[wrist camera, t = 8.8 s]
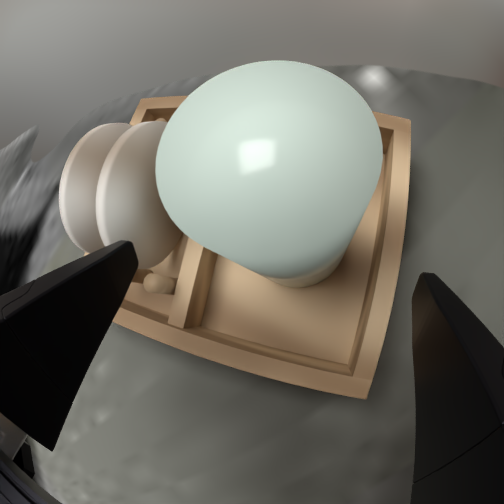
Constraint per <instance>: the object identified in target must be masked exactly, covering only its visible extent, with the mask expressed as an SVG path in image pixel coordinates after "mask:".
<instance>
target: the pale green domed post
mask: <svg viewBox="0 0 504 504" xmlns="http://www.w3.org/2000/svg"><path fill="white" fill-rule="evenodd" d="M382 160H383V145H382V139H381V134H380V130H379V127H378V124H377V121H376V119H375V117H374V115H373V113H372V111H371V109H370V107H369V106H368V105H367V103H366V102H365V100H364V99H363V98H362V97H361V96H360V95H359V94H358V92H357V91H356V90H355V89H354V88H352V87H351V86H350V85H349V84H347V83H346V82H345V81H344V80H342V79H340V78H339V77H337V76H336V75H334V74H332V73H330V72H328V71H326V70H323V69H321V68H318V67H315V66H312V65H309V64H304V63H299V62H293V61H262V62H255V63H251V64H246V65H243V66H239V67H236V68H233V69H230V70H228V71H226V72H223V73H221V74H219V75H217V76H215V77H214V78H212V79H210V80H208V81H207V82H206V83H204V84H203V85H201V86H200V87H198V88H197V89H196V90H195V91H194V92H192V93H191V94H190V95H189V96H188V97H187V98H186V99H185V100H184V101H183V102H182V103H181V105H180V106H179V107H178V108H177V110H176V111H175V112H174V114H173V115H172V117H171V118H170V120H169V122H168V123H167V125H166V127H165V130H164V132H163V134H162V137H161V140H160V143H159V146H158V150H157V156H156V168H155V173H156V183H157V188H158V192H159V196H160V198H161V201H162V203H163V206H164V208H165V210H166V211H167V213H168V214H169V216H170V218H171V219H172V220H173V222H174V223H175V224H176V225H177V226H178V228H179V229H180V230H181V231H183V232H184V233H185V234H186V235H187V236H188V237H189V238H191V239H192V240H194V241H195V242H197V243H198V244H200V245H202V246H203V247H205V248H207V249H209V250H211V251H213V252H215V253H217V254H219V255H221V256H223V257H225V258H227V259H229V260H231V261H233V262H235V263H237V264H239V265H241V266H243V267H245V268H247V269H249V270H251V271H253V272H255V273H257V274H259V275H261V276H263V277H265V278H267V279H269V280H271V281H273V282H275V283H278V284H280V285H283V286H286V287H292V288H303V287H309V286H313V285H315V284H318V283H320V282H322V281H323V280H325V279H326V278H328V277H329V276H330V275H331V274H332V273H333V272H334V271H335V270H336V268H337V267H338V265H339V264H340V262H341V260H342V258H343V256H344V254H345V252H346V250H347V248H348V246H349V244H350V242H351V240H352V238H353V236H354V234H355V232H356V230H357V228H358V226H359V223H360V221H361V219H362V217H363V215H364V213H365V211H366V209H367V206H368V204H369V202H370V200H371V198H372V195H373V193H374V191H375V189H376V186H377V183H378V180H379V177H380V173H381V167H382Z"/></svg>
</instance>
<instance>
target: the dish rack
mask: <svg viewBox="0 0 504 504" xmlns="http://www.w3.org/2000/svg"><path fill="white" fill-rule="evenodd" d="M187 97H188V96H173V97H157V98H145V99H141V101H140V103H139V105H138V107H137V109H136V111H135V113H134V115H133V117H132V120H131V122H130V124H126V123H111V124H104V125H101V126H98V127H96V128H94V129H92V130H91V131H89V132H88V133H87V134H85V135H84V136H83V137H82V138H81V139H80V140H79V142H78V143H77V144H76V145H75V147H74V148H73V150H72V152H71V153H70V155H69V157H68V159H67V161H66V164H65V166H64V169H63V172H62V176H61V181H60V188H59V207H60V214H61V218H62V222H63V225H64V227H65V230H66V232H67V234H68V236H69V237H70V239H71V240H72V241H73V242H74V244H75V245H76V246H78V247H79V248H80V249H81V250H83V251H85V254H84V256H86V255H88V254H90V253H92V252H94V251H97V250H99V249H101V248H103V247H106V246H108V245H110V244H113V243H115V242H117V241H120V240H127V241H131V242H132V243H133V245H134V248H135V251H136V254H137V258H138V261H139V265H138V269H137V271H136V273H135V275H134V278H133V280H132V282H131V284H130V286H129V289H128V291H127V293H126V295H125V298H124V300H123V302H122V304H121V306H120V308H119V310H118V312H117V314H116V315H115V317H114V319H113V321H112V322H115V323H117V324H119V325H121V326H124V327H126V328H128V329H130V330H133V331H135V332H137V333H140V334H142V335H145V336H147V337H149V338H152V339H154V340H157V341H159V342H162V343H165V344H167V345H170V346H172V347H175V348H178V349H180V350H183V351H186V352H189V353H191V354H194V355H197V356H200V357H203V358H206V359H209V360H211V361H214V362H218V363H221V364H224V365H227V366H230V367H233V368H236V369H240V370H243V371H246V372H250V373H253V374H257V375H260V376H264V377H267V378H271V379H275V380H278V381H282V382H286V383H290V384H294V385H298V386H302V387H307V388H311V389H315V390H320V391H325V392H329V393H334V394H339V395H344V396H350V397H355V398H361V399H366V398H367V395H368V392H369V389H370V386H371V383H372V380H373V377H374V373H375V370H376V367H377V363H378V360H379V356H380V353H381V349H382V346H383V342H384V338H385V334H386V330H387V326H388V322H389V317H390V313H391V308H392V304H393V299H394V294H395V289H396V284H397V278H398V273H399V267H400V261H401V254H402V247H403V240H404V232H405V224H406V215H407V204H408V192H409V176H410V148H411V121H410V120H408V119H404V118H400V117H396V116H392V115H387V114H383V113H378V112H374V111H372V113H373V115H374V117H375V119H376V121H377V124H378V127H379V130H380V134H381V139H382V145H383V160H382V167H381V173H380V177H379V180H378V183H377V186H376V189H375V191H374V193H373V195H372V198H371V200H370V202H369V204H368V206H367V209H366V211H365V213H364V215H363V217H362V219H361V221H360V223H359V226H358V228H357V230H356V232H355V234H354V236H353V238H352V240H351V242H350V244H349V246H348V248H347V250H346V252H345V254H344V256H343V258H342V260H341V262H340V264H339V265H338V267H337V268H336V270H335V271H334V272H333V273H332V274H331V275H330V276H329V277H328V278H326V279H325V280H323V281H322V282H320V283H318V284H315V285H313V286H309V287H303V288H292V287H286V286H283V285H280V284H278V283H275V282H273V281H271V280H269V279H267V278H265V277H263V276H261V275H259V274H257V273H255V272H253V271H251V270H249V269H247V268H245V267H243V266H241V265H239V264H237V263H235V262H233V261H231V260H229V259H227V258H225V257H223V256H221V255H219V254H217V253H215V252H213V251H211V250H209V249H207V248H205V247H203V246H202V245H200V244H198V243H197V242H195V241H194V240H192V239H191V238H189V237H188V236H187V235H186V234H185V233H184V232H183V231H181V230H180V229H179V228H178V226H177V225H176V224H175V223H174V222H173V220H172V219H171V218H170V216H169V214H168V213H167V211H166V210H165V208H164V206H163V203H162V201H161V198H160V196H159V192H158V188H157V183H156V173H155V168H156V156H157V150H158V146H159V143H160V140H161V137H162V134H163V132H164V130H165V127H166V125H167V123H168V122H169V120H170V118H171V117H172V115H173V114H174V112H175V111H176V110H177V108H178V107H179V106H180V105H181V103H182V102H183V101H184V100H185V99H186V98H187Z"/></svg>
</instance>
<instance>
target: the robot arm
mask: <svg viewBox="0 0 504 504" xmlns="http://www.w3.org/2000/svg"><path fill="white" fill-rule="evenodd" d="M138 265H139V261H138V258H137V254H136V251H135V248H134V245H133V243H132V242H131V241H127V240H120V241H117V242H115V243H113V244H110V245H108V246H106V247H103V248H101V249H99V250H97V251H94V252H92V253H90V254H88V255H86V256H83V257H81V258H79V259H77V260H75V261H73V262H70V263H68V264H66V265H64V266H62V267H60V268H58V269H56V270H53V271H51V272H49V273H47V274H45V275H43V276H41V277H39V278H37V279H36V280H33V281H31V282H29V283H27V284H25V285H23V286H21V287H19V288H17V289H15V290H13V291H10V292H8V293H6V294H4V295H2V296H0V504H62V503H60V502H59V501H58V500H56V499H55V498H54V497H52V496H51V495H50V494H49V493H47V492H46V491H45V490H44V489H43V488H41V487H40V486H39V485H38V484H37V483H36V482H34V481H33V480H32V478H33V476H34V474H35V472H34V467H33V461H32V455H31V448H30V445H28V444H27V443H26V442H25V441H24V440H25V439H26V437H27V435H29V436H30V437H32V438H33V439H34V440H36V441H37V442H39V443H40V444H41V445H43V446H44V447H46V448H47V449H49V450H50V451H53V450H54V448H55V445H56V443H57V440H58V438H59V435H60V432H61V430H62V427H63V425H64V423H65V420H66V418H67V415H68V413H69V411H70V408H71V406H72V404H73V403H72V402H73V401H74V399H75V396H76V394H77V392H78V390H79V388H80V385H81V383H82V381H83V379H84V377H85V375H86V372H87V370H88V368H89V366H90V364H91V362H92V360H93V358H94V356H95V354H96V352H97V350H98V348H99V346H100V344H101V342H102V340H103V338H104V336H105V334H106V332H107V330H108V329H109V327H110V325H111V323H112V321H113V319H114V317H115V315H116V314H117V312H118V310H119V308H120V306H121V304H122V302H123V300H124V298H125V295H126V293H127V291H128V289H129V286H130V284H131V282H132V280H133V278H134V275H135V273H136V271H137V269H138ZM412 349H413V363H414V377H415V400H416V440H415V462H414V475H413V483H414V484H413V485H412V494H411V502H410V504H504V347H503V346H502V345H501V344H500V343H499V341H498V340H497V339H496V338H495V337H494V336H493V334H492V333H491V332H490V331H489V330H488V329H487V328H486V326H485V325H484V324H483V323H482V322H481V321H480V320H479V319H478V318H477V317H476V315H475V314H474V313H473V312H472V311H471V310H470V309H469V308H468V307H467V306H466V305H465V304H464V303H463V302H462V301H461V299H460V298H459V297H458V296H457V295H456V294H455V293H454V292H453V291H452V290H451V289H450V288H449V287H448V286H447V285H446V284H445V283H444V282H443V281H442V280H441V279H440V278H439V277H438V276H437V275H435V274H434V273H426V272H423V273H421V274H420V276H419V279H418V282H417V284H416V287H415V290H414V293H413V296H412Z"/></svg>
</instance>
